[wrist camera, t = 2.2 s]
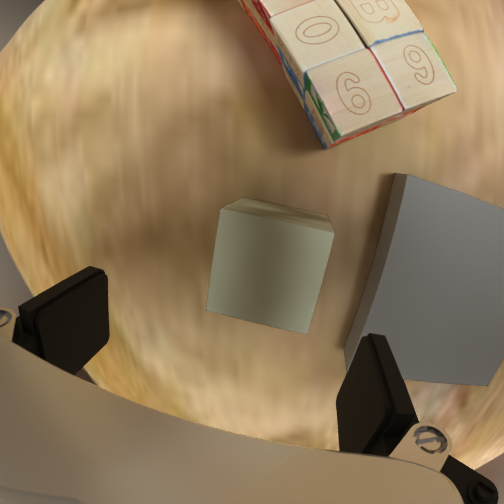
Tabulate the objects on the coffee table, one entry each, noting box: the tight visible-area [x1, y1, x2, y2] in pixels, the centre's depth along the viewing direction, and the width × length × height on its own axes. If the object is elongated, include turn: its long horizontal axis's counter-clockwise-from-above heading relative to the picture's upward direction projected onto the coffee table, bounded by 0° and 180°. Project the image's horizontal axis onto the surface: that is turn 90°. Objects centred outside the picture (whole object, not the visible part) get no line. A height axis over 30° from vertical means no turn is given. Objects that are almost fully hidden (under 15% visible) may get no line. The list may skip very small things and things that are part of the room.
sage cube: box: [206, 197, 335, 334], centre depth 20 cm, size 6×6×6 cm
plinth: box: [344, 173, 504, 386], centre depth 19 cm, size 14×14×3 cm
